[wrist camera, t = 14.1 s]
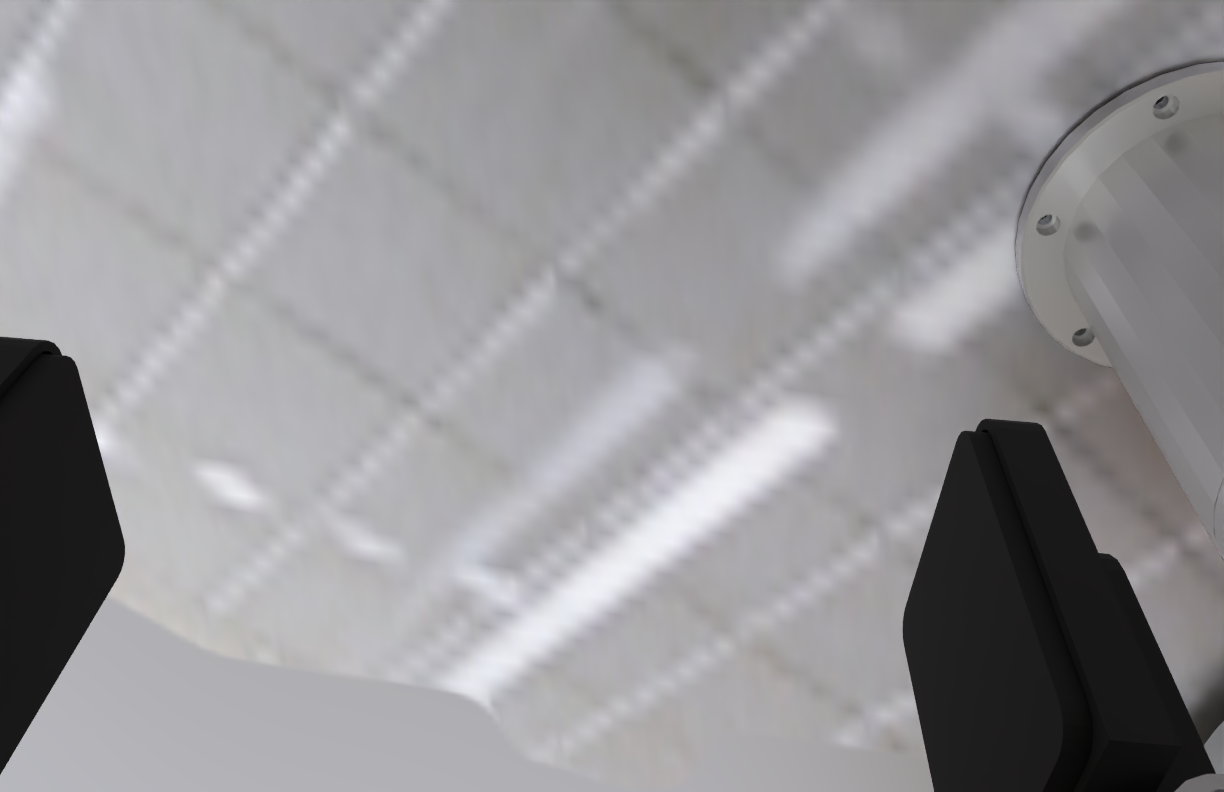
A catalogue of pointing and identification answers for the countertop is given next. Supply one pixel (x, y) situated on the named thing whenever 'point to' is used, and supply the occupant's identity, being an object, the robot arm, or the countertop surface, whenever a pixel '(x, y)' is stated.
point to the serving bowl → (1216, 749)
